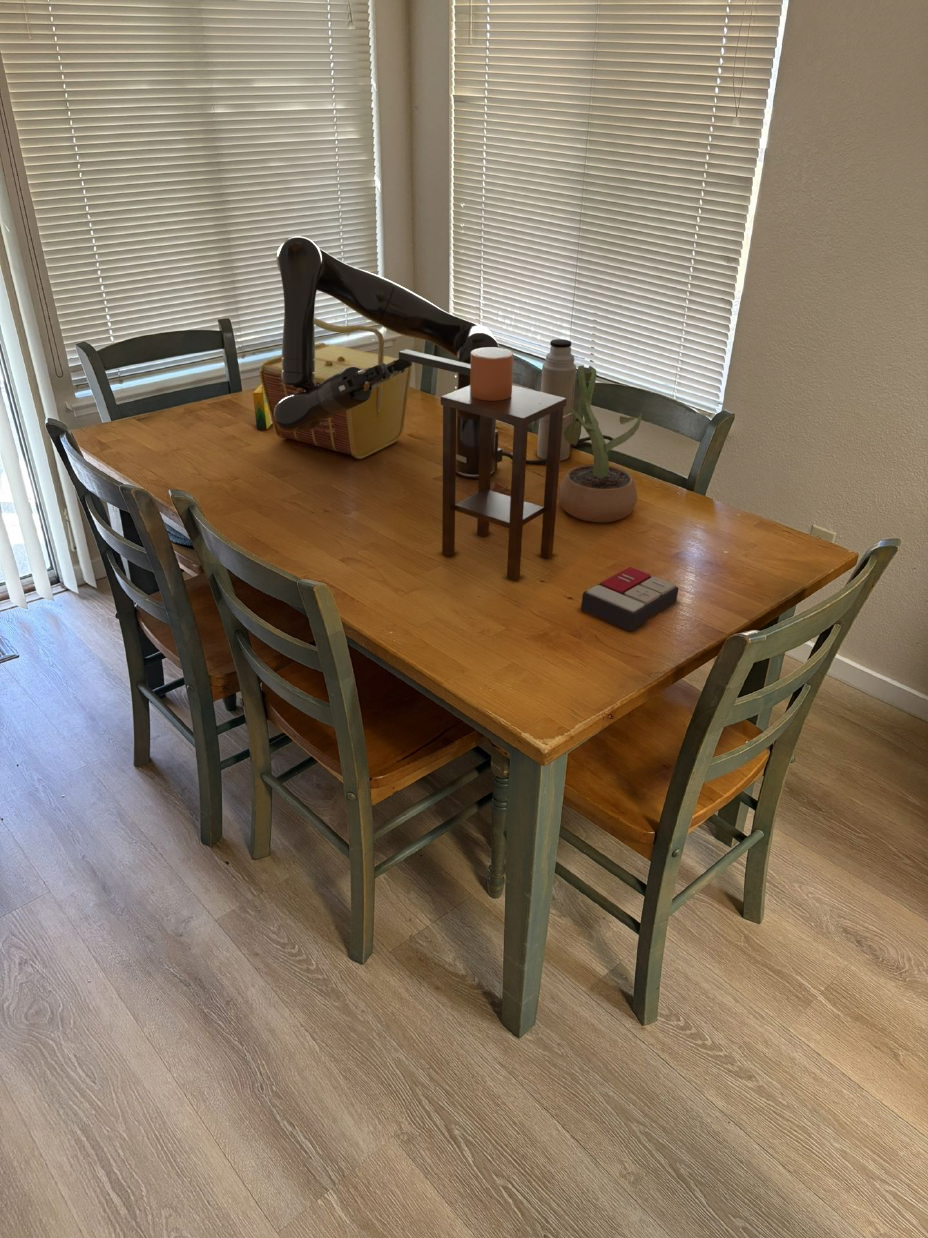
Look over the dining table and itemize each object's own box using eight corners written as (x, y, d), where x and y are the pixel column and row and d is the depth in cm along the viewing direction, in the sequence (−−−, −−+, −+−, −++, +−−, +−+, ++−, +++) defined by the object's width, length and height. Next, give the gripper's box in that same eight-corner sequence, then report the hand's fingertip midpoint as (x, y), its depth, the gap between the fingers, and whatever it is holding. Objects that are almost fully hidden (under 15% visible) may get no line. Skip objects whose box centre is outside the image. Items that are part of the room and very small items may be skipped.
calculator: (680, 583, 168) (634, 610, 159) (676, 604, 171) (631, 632, 161) (629, 563, 175) (582, 588, 165) (626, 584, 177) (579, 609, 167)
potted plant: (653, 508, 205) (671, 372, 189) (604, 533, 194) (619, 391, 178) (572, 478, 218) (583, 350, 203) (522, 500, 207) (529, 366, 191)
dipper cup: (389, 376, 178) (388, 336, 174) (415, 367, 183) (414, 328, 179) (495, 403, 165) (497, 361, 161) (519, 393, 170) (521, 351, 166)
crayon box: (265, 419, 249) (260, 376, 243) (275, 420, 249) (271, 377, 243) (256, 429, 243) (251, 384, 237) (266, 429, 243) (262, 385, 237)
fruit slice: (480, 504, 205) (481, 483, 203) (505, 497, 209) (506, 476, 206) (503, 517, 200) (504, 496, 197) (528, 510, 203) (529, 489, 200)
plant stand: (439, 554, 185) (440, 396, 168) (481, 530, 194) (486, 378, 177) (514, 582, 175) (523, 418, 159) (554, 555, 185) (566, 398, 168)
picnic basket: (416, 437, 240) (415, 318, 224) (354, 469, 221) (348, 341, 205) (328, 415, 253) (321, 301, 237) (262, 443, 234) (250, 321, 219)
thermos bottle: (570, 450, 234) (580, 337, 219) (567, 462, 227) (576, 346, 212) (539, 447, 235) (546, 335, 220) (534, 459, 228) (541, 344, 214)
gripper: (311, 381, 186) (362, 353, 175) (360, 365, 196) (411, 338, 185) (327, 417, 188) (378, 391, 176) (374, 399, 198) (426, 374, 186)
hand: (395, 364), depth 181 cm, fingers open, 8 cm apart
